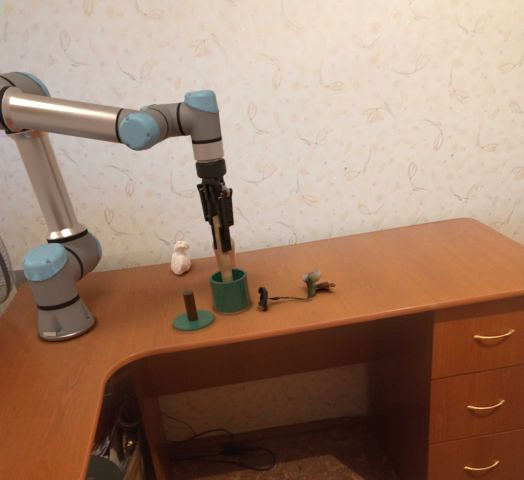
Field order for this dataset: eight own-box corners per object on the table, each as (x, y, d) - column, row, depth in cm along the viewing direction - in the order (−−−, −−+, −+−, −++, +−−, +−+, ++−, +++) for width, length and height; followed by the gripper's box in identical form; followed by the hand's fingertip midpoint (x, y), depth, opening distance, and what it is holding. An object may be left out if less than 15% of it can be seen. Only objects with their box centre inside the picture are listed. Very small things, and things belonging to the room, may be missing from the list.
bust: (187, 282, 178) (203, 252, 175) (167, 273, 174) (182, 243, 171) (180, 271, 188) (195, 242, 185) (161, 262, 184) (175, 233, 181)
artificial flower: (255, 308, 153) (252, 273, 151) (328, 300, 158) (327, 266, 156) (263, 312, 144) (260, 275, 142) (340, 303, 150) (338, 268, 147)
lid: (164, 326, 146) (157, 296, 142) (196, 310, 153) (190, 280, 148) (191, 337, 139) (185, 305, 134) (223, 319, 146) (217, 289, 141)
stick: (221, 287, 150) (210, 217, 139) (228, 283, 151) (218, 214, 141) (228, 290, 148) (218, 219, 138) (236, 286, 149) (226, 216, 139)
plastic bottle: (238, 294, 159) (229, 229, 149) (217, 294, 161) (206, 230, 151) (243, 285, 165) (235, 222, 155) (223, 285, 166) (212, 223, 156)
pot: (207, 309, 153) (201, 278, 148) (232, 295, 159) (228, 266, 154) (232, 318, 146) (227, 286, 141) (258, 303, 152) (254, 272, 148)
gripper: (240, 159, 128) (251, 251, 140) (205, 153, 140) (218, 239, 151) (215, 165, 125) (228, 260, 136) (180, 159, 136) (195, 247, 148)
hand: (223, 249), depth 144 cm, fingers closed on stick, 3 cm apart
